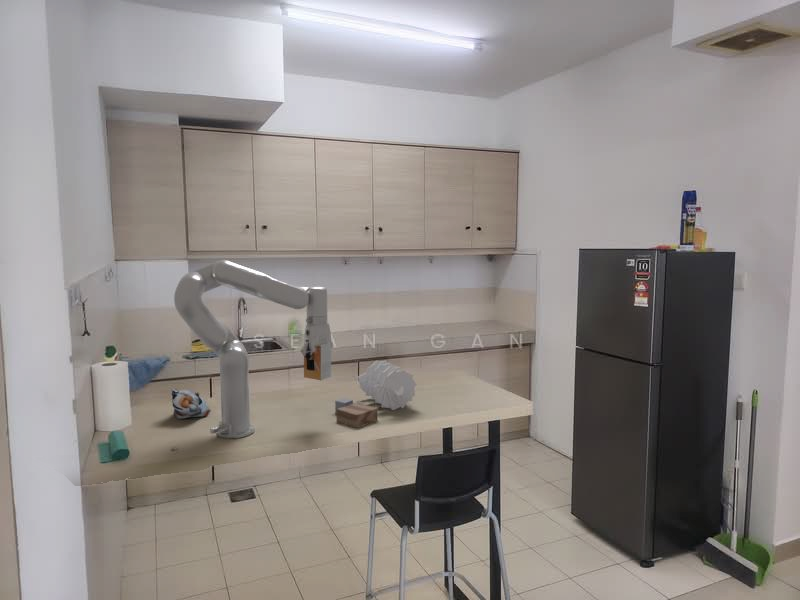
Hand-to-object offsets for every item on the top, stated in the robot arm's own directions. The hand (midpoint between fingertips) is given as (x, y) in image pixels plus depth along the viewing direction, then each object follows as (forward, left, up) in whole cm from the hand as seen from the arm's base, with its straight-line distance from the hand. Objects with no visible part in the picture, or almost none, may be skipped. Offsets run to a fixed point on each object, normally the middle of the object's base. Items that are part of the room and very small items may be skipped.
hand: (317, 367), depth 201 cm
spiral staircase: (+35, -6, -22) cm, 42 cm away
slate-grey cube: (+16, +1, -22) cm, 27 cm away
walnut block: (+11, -9, -22) cm, 26 cm away
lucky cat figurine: (-23, +46, -22) cm, 56 cm away
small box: (0, 0, -4) cm, 4 cm away
